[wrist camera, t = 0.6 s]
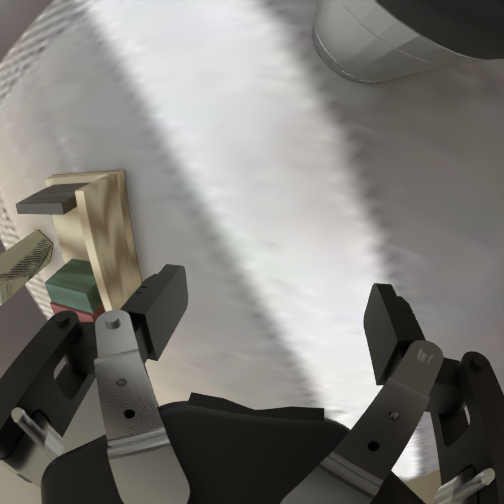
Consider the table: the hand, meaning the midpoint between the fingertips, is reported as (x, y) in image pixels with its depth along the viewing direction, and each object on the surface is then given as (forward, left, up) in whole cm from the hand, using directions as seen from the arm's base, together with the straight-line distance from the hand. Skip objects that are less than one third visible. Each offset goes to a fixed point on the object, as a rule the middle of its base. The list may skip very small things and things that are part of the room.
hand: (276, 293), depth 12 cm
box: (+11, -38, -18) cm, 43 cm away
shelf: (+10, -25, -18) cm, 32 cm away
